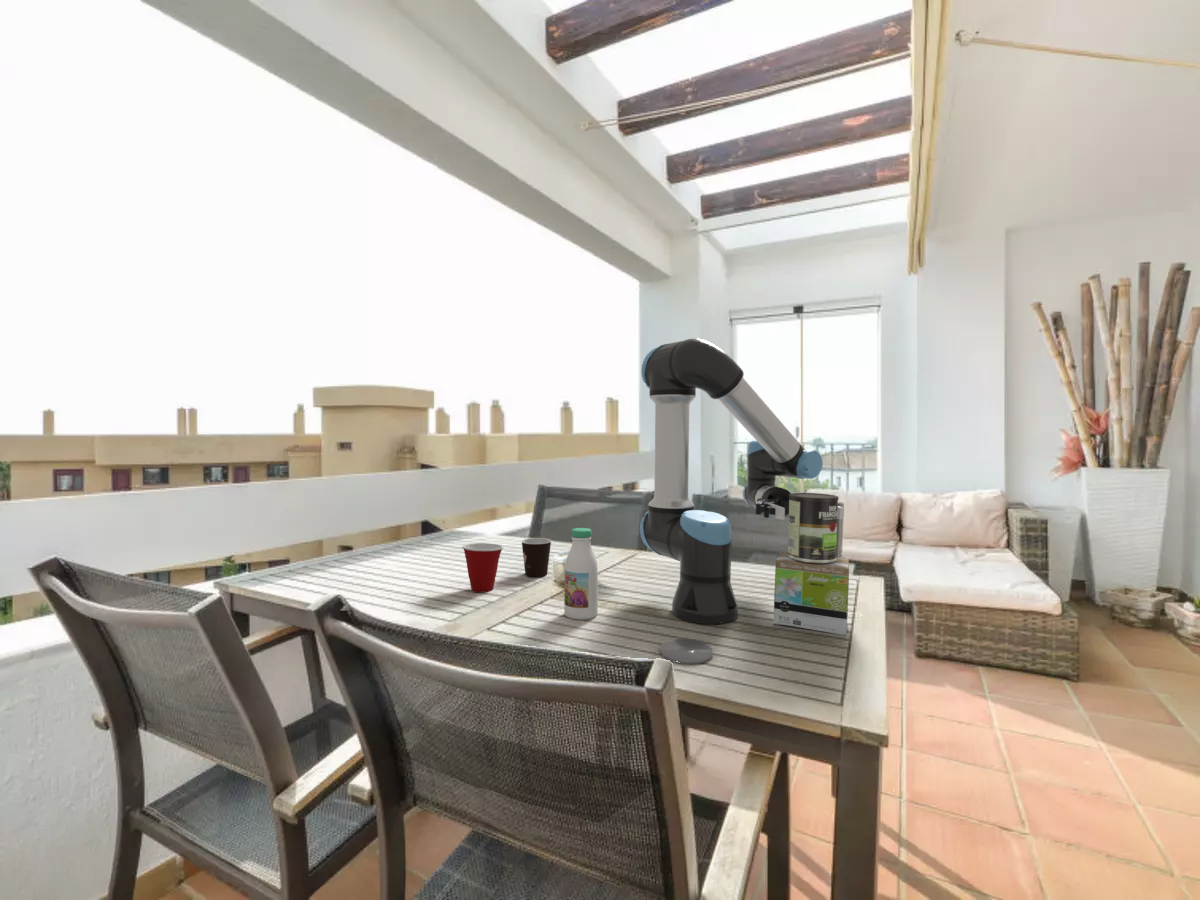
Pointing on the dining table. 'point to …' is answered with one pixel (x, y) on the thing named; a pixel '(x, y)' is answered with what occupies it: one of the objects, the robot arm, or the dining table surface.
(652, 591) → the dining table surface
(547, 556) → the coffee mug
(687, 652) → the slate coaster
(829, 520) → the coffee can
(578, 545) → the milk bottle
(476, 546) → the plastic cup
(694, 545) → the robot arm
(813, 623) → the tea box
